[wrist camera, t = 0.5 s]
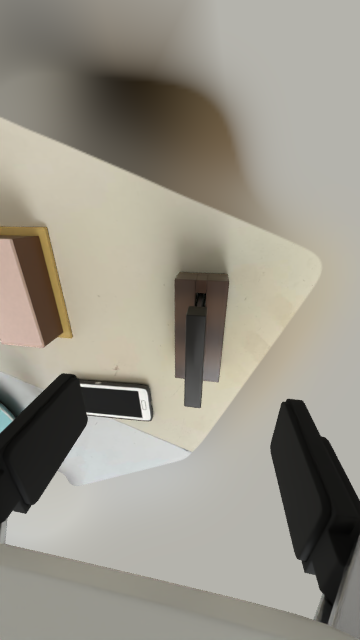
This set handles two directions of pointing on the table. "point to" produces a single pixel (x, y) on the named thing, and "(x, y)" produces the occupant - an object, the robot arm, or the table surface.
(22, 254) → the cake
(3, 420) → the plate
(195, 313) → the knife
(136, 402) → the cell phone
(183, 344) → the brown slotted box
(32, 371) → the table surface
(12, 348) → the table surface
